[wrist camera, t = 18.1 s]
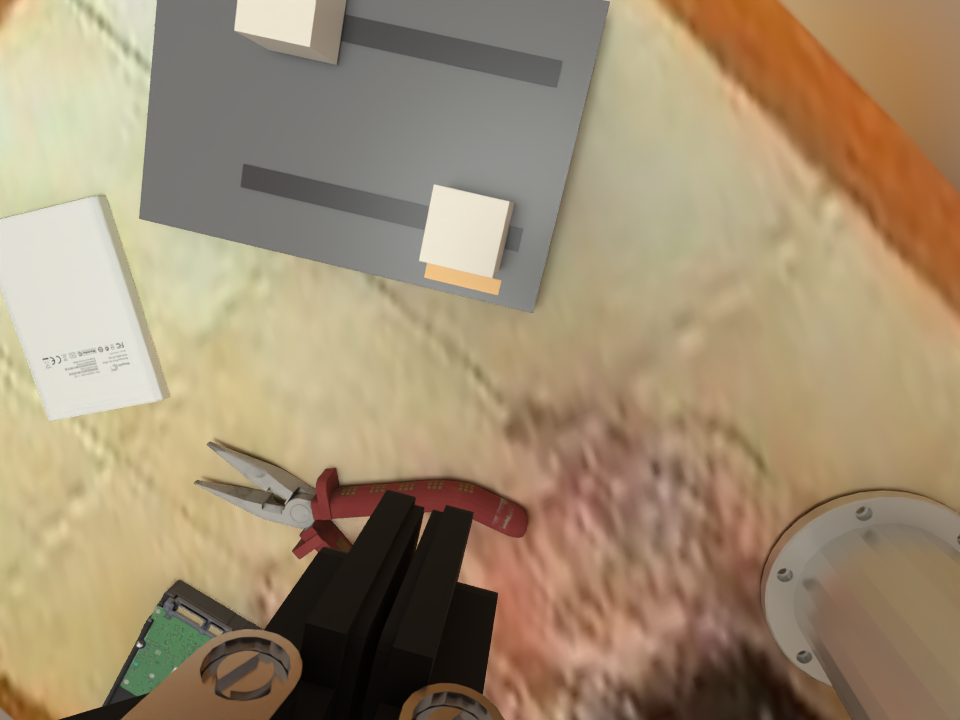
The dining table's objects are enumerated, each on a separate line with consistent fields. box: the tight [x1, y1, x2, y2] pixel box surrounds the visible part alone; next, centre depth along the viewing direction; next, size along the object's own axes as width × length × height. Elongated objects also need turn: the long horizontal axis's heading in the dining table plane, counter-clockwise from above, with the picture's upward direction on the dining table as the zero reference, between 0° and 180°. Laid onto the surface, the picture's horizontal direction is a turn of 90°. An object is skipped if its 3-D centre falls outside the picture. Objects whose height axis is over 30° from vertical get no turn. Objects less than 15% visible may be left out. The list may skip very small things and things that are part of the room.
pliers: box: [194, 442, 528, 559], centre depth 39 cm, size 11×20×3 cm, turn 68°
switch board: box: [139, 0, 610, 313], centre depth 33 cm, size 22×15×3 cm
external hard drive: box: [0, 196, 170, 421], centre depth 39 cm, size 2×8×12 cm
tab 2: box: [419, 184, 514, 278], centre depth 30 cm, size 4×4×4 cm
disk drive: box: [102, 580, 263, 707], centre depth 44 cm, size 10×3×15 cm
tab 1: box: [234, 0, 346, 65], centre depth 29 cm, size 4×4×4 cm
